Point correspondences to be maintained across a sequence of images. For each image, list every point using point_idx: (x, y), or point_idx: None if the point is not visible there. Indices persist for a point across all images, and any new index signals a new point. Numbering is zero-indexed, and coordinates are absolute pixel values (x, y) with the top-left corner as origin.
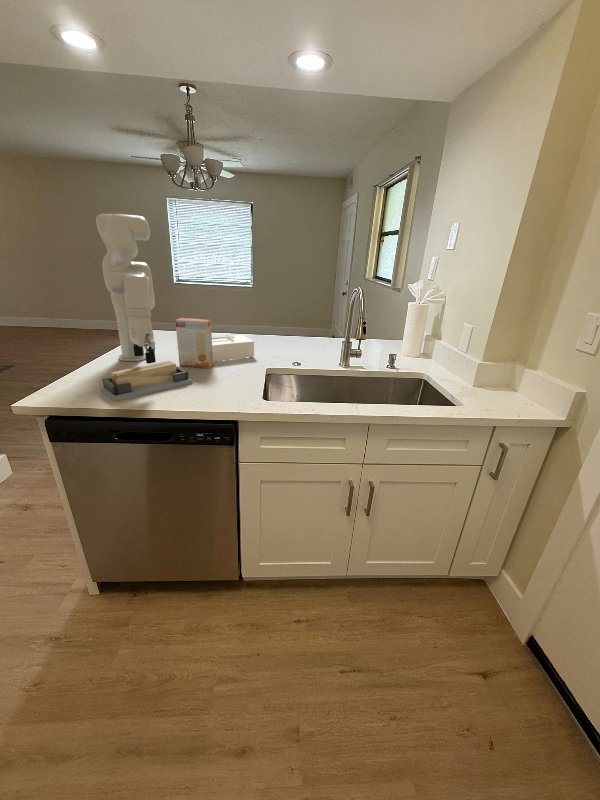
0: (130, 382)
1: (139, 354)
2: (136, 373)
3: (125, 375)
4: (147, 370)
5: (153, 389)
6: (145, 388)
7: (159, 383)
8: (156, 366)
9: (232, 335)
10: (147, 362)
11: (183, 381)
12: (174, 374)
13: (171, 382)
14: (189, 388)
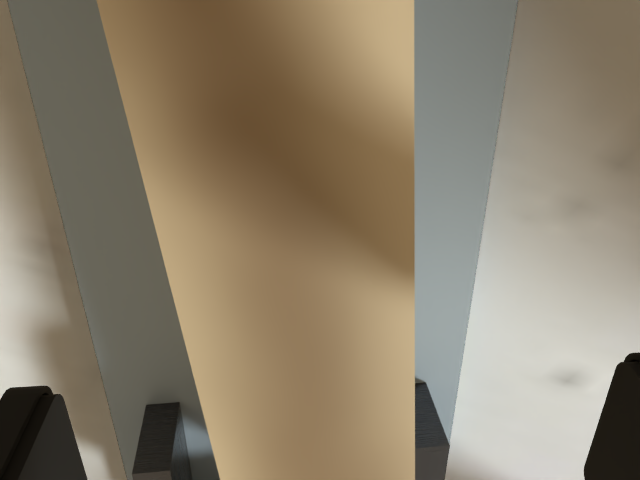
0: None
1: (615, 446)
2: (125, 91)
3: None
4: (176, 290)
5: (55, 170)
6: (91, 98)
7: None
8: (264, 436)
9: None
10: (4, 410)
11: (124, 460)
12: (138, 477)
13: (154, 379)
14: None
